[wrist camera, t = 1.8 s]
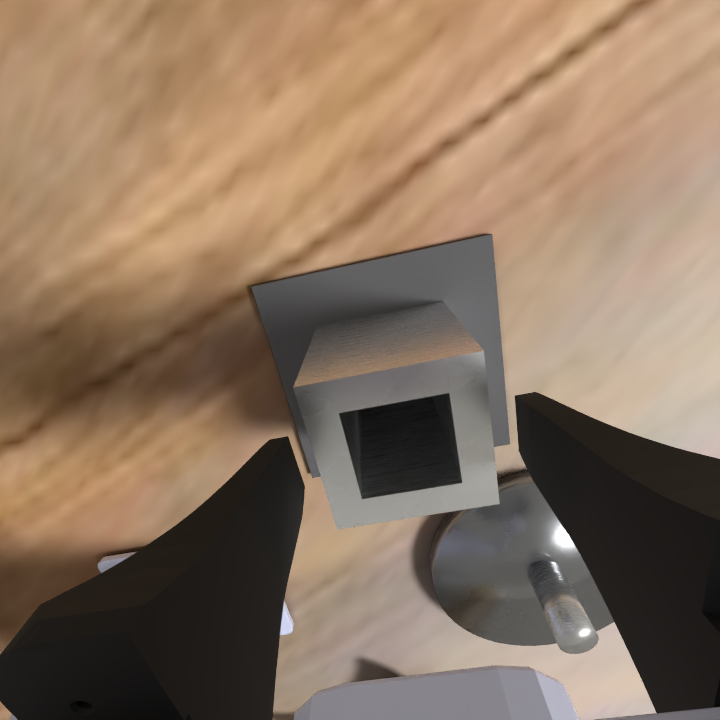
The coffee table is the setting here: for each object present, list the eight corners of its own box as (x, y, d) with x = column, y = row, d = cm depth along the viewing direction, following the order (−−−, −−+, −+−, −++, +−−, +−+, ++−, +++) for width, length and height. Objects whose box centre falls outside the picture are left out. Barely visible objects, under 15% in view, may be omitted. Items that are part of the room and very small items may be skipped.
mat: (313, 474, 20) (312, 477, 20) (253, 285, 16) (251, 287, 16) (507, 440, 19) (510, 444, 19) (489, 233, 16) (492, 234, 15)
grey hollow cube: (345, 433, 19) (337, 529, 13) (316, 326, 17) (293, 387, 11) (458, 412, 18) (499, 503, 13) (443, 300, 16) (483, 350, 11)
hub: (444, 636, 25) (461, 729, 20) (414, 488, 20) (428, 566, 16) (640, 611, 24) (702, 703, 19) (652, 449, 19) (736, 521, 15)
